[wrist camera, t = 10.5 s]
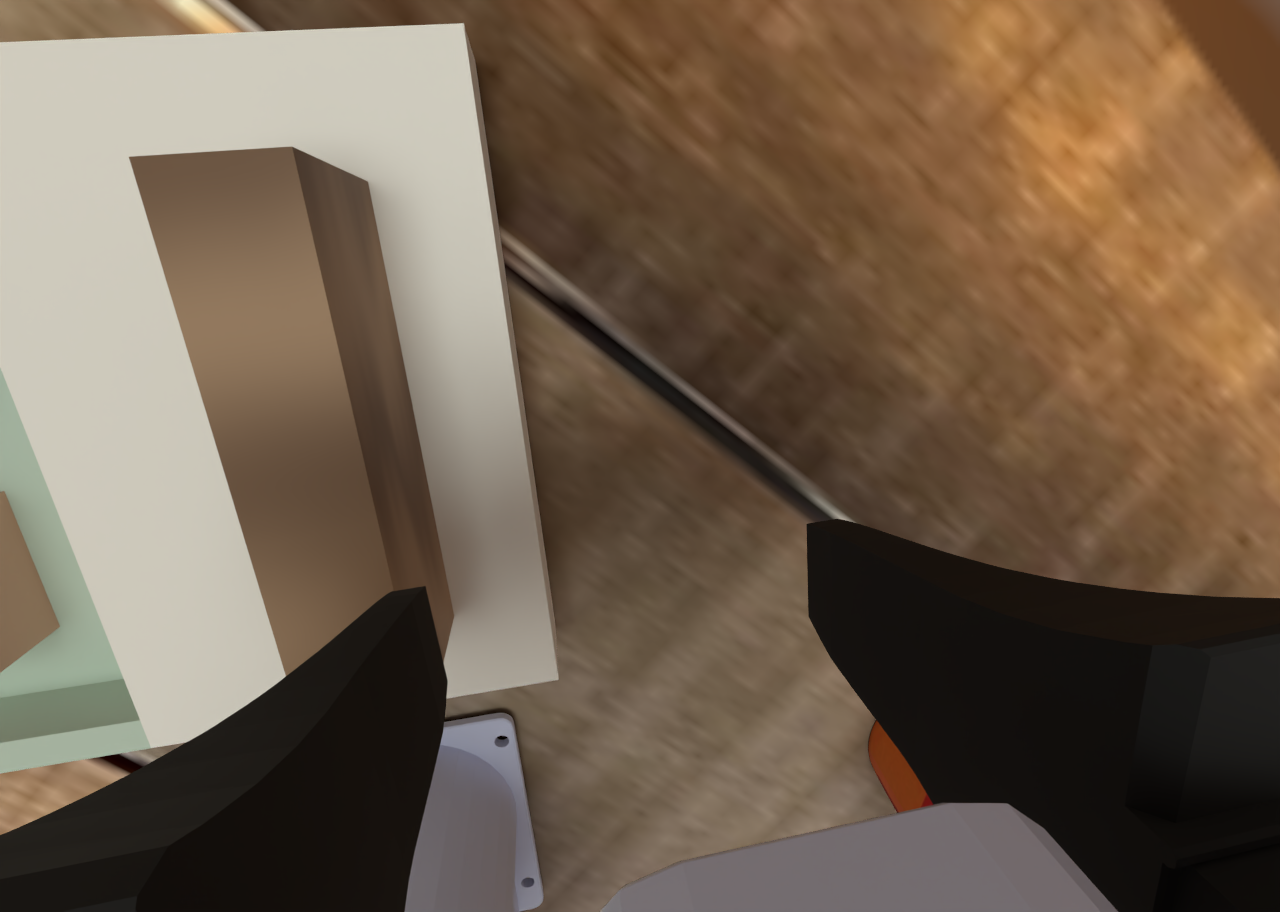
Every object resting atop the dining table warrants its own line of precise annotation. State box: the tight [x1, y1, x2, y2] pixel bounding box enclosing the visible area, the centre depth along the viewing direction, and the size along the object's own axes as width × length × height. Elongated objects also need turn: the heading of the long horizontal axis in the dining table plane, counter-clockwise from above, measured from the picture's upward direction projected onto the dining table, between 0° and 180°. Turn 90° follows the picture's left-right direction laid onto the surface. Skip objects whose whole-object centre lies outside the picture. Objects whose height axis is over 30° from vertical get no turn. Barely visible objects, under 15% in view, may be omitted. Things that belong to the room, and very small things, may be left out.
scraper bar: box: [129, 147, 454, 676], centre depth 15 cm, size 12×2×5 cm, turn 5°
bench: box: [0, 23, 559, 748], centre depth 18 cm, size 18×12×3 cm, turn 5°
